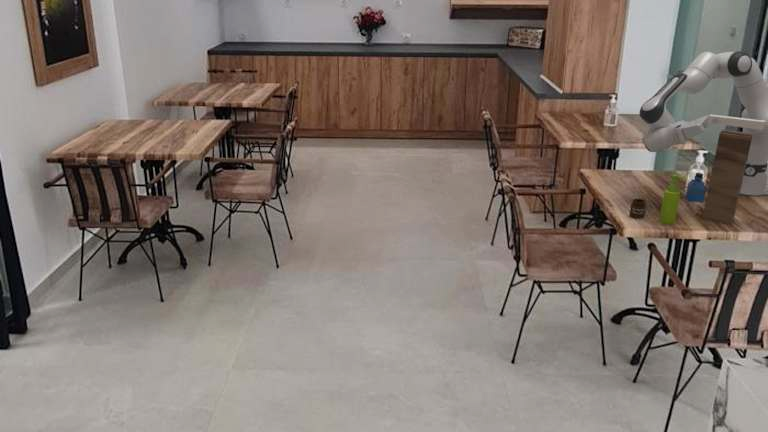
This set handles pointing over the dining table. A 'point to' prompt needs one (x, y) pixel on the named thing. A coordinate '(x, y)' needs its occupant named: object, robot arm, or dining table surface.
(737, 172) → the stand
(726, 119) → the rod
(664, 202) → the soap dispenser
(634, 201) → the utensil holder
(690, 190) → the perfume bottle
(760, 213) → the dining table surface
